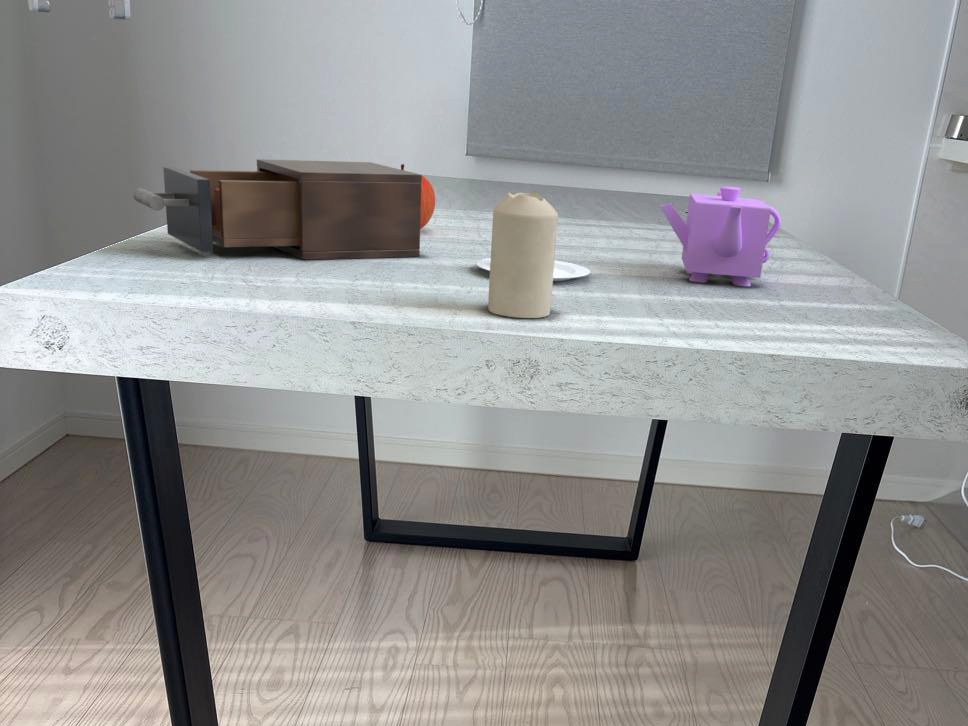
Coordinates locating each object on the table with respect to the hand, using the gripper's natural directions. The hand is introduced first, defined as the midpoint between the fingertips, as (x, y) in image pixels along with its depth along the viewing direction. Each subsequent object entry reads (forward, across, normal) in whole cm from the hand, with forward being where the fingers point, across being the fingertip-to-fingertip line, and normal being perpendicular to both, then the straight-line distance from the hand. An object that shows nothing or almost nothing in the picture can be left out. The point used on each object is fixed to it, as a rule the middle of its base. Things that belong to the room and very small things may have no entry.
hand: (80, 15), depth 95 cm
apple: (+21, -39, -12) cm, 46 cm away
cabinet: (+21, -25, 0) cm, 33 cm away
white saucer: (+21, -39, +18) cm, 48 cm away
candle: (+21, -27, +34) cm, 48 cm away
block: (+19, -14, 0) cm, 24 cm away
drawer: (+20, -12, 0) cm, 24 cm away
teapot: (+21, -59, +24) cm, 67 cm away
